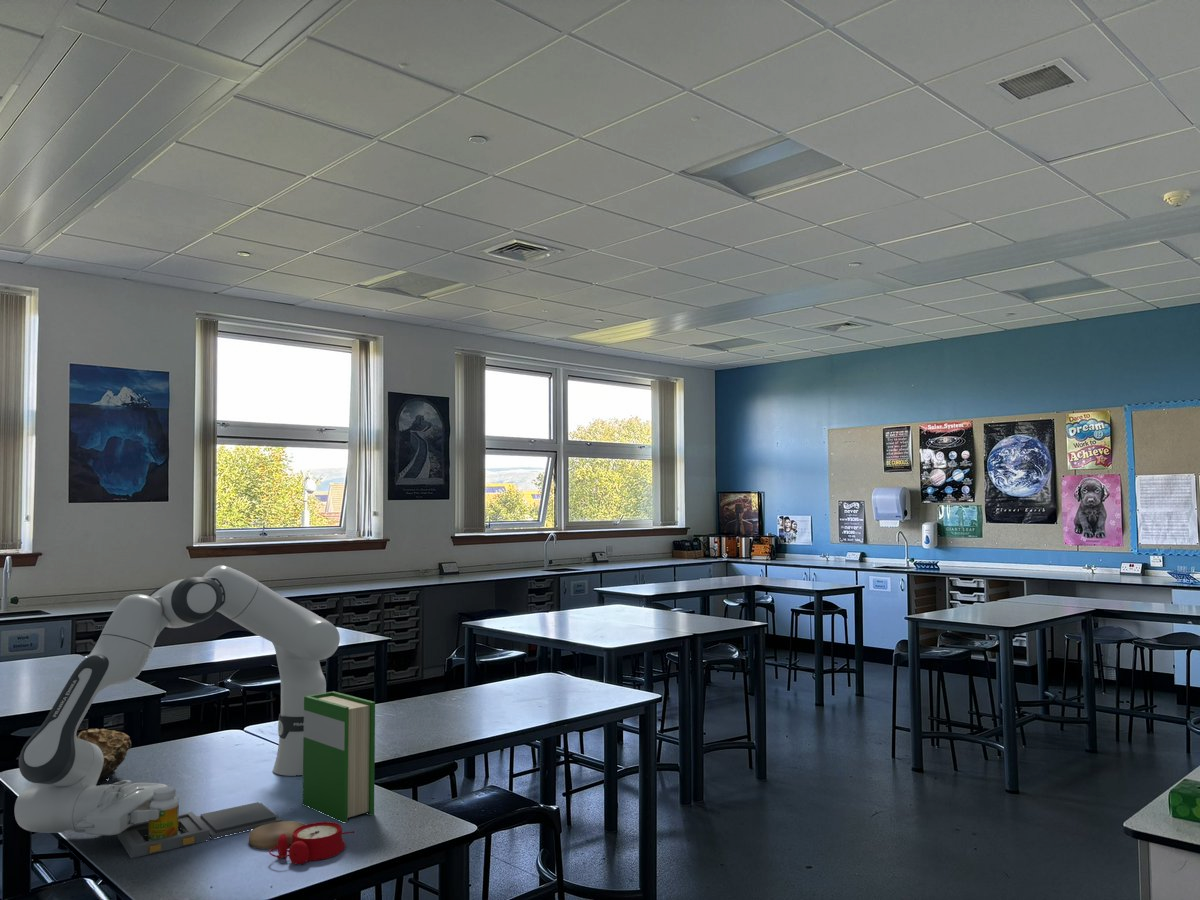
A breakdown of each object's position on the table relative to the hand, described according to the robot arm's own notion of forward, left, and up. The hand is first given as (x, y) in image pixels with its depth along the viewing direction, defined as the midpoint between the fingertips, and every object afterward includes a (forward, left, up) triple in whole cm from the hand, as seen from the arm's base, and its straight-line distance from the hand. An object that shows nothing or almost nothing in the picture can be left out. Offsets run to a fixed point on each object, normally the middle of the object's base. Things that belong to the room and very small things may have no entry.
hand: (168, 808), depth 174 cm
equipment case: (-7, 0, -6) cm, 9 cm away
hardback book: (-33, +5, -6) cm, 34 cm away
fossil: (+4, -56, -6) cm, 56 cm away
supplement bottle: (+1, -1, -6) cm, 6 cm away
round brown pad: (-17, +14, -6) cm, 23 cm away
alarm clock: (-19, +26, -7) cm, 33 cm away
